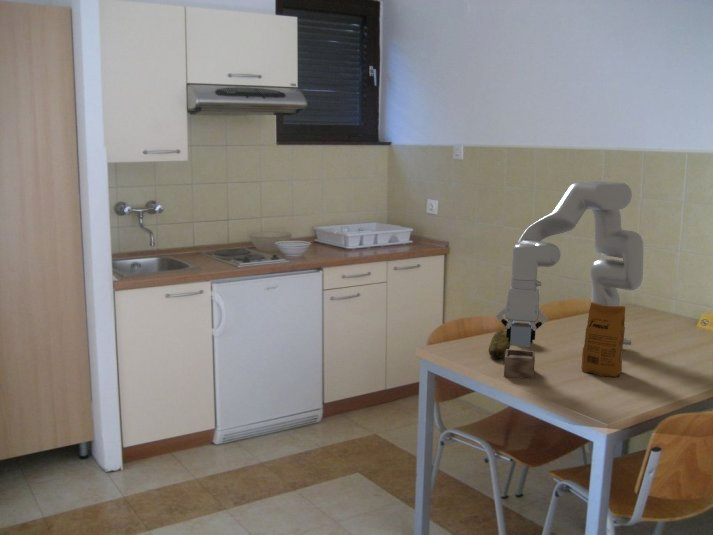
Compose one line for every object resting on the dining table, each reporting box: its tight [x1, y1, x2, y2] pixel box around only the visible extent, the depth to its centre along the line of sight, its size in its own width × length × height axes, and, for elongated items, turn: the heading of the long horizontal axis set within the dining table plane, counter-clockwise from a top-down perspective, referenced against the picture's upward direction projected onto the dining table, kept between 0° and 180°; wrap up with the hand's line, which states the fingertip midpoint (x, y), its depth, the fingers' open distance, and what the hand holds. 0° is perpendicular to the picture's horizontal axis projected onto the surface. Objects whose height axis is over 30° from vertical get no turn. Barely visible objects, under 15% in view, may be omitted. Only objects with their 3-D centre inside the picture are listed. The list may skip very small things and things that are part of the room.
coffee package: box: [580, 301, 626, 378], centre depth 234 cm, size 10×12×22 cm
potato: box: [488, 329, 512, 360], centre depth 251 cm, size 8×13×8 cm, turn 140°
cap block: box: [510, 322, 532, 348], centre depth 231 cm, size 6×6×6 cm
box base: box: [503, 348, 536, 380], centre depth 232 cm, size 9×9×6 cm
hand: (520, 340), depth 231 cm, fingers closed on cap block, 6 cm apart
